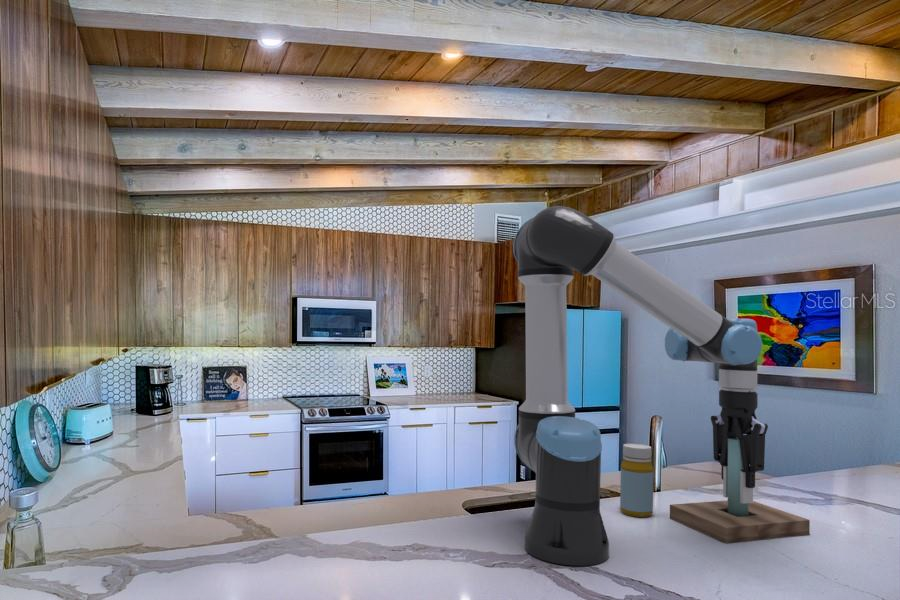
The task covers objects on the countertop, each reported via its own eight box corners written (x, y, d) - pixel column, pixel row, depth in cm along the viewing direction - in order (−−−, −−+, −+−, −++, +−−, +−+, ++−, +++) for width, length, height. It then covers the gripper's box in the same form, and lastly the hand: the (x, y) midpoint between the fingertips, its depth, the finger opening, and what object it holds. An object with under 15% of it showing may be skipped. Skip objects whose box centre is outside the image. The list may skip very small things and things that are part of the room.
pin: (738, 518, 123) (738, 441, 124) (723, 512, 127) (723, 438, 128) (752, 517, 124) (752, 440, 125) (737, 511, 128) (738, 437, 129)
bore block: (725, 543, 114) (725, 527, 115) (669, 518, 130) (669, 504, 130) (809, 534, 122) (809, 520, 122) (747, 512, 137) (747, 499, 137)
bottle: (654, 519, 128) (655, 449, 129) (621, 516, 130) (622, 447, 131) (650, 510, 135) (651, 444, 136) (619, 507, 137) (620, 442, 138)
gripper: (785, 393, 121) (785, 510, 119) (721, 386, 137) (721, 488, 135) (756, 393, 118) (756, 512, 117) (695, 386, 134) (695, 490, 133)
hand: (737, 499), depth 126 cm, fingers closed on pin, 4 cm apart
